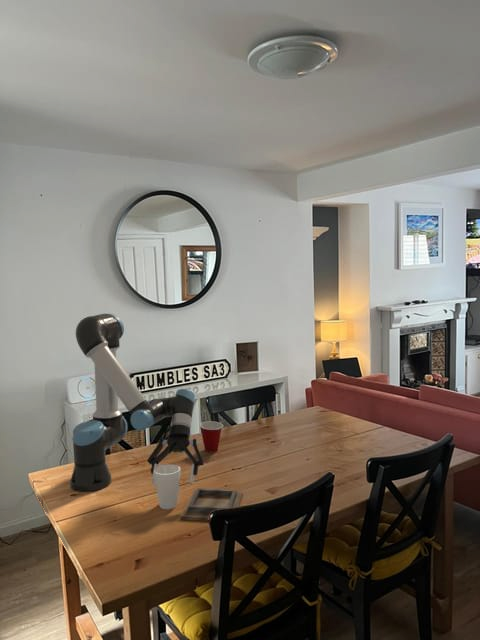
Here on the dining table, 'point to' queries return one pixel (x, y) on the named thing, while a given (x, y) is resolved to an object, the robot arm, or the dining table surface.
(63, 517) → the dining table surface
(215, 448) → the plastic cup
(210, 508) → the holder board
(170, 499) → the foam cup
